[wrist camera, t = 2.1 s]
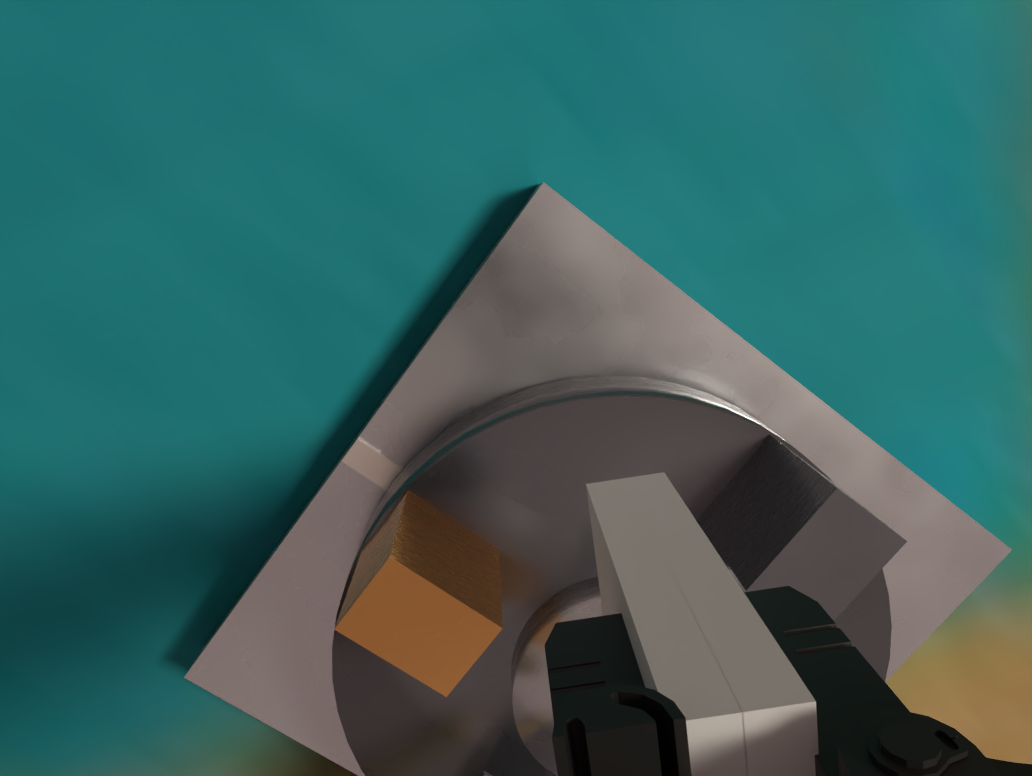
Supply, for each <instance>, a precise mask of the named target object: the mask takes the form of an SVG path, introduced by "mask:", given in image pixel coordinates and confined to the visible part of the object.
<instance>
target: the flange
mask: <svg viewBox="0 0 1032 776" xmlns="http://www.w3.org/2000/svg"><path fill="white" fill-rule="evenodd" d="M604 375H609V376H633V377H645V378H651V379H656V380H662V381H668V382H674V383H678V384H681V385H684V386H687V387H690V388H694V389H697V390H700V391H703V392H706V393H709V394H711V395H713V396H715V397H718V398H720V399H722V400H724V401H726V402H728V403H730V404H732V405H735V406H737V407H739V408H740V409H742V410H743V411H745V412H746V413H748V414H749V415H751V416H752V417H754V418H755V419H757V420H758V421H760V422H762V423H763V424H765V425H766V426H767V427H769V428H770V429H771V430H772V431H774V432H775V433H776V434H778V435H779V436H780V437H781V438H783V439H784V440H785V441H787V442H788V443H789V444H790V445H792V446H793V447H794V448H796V449H797V450H798V451H799V452H801V453H802V454H803V455H804V456H805V457H806V458H808V459H809V460H810V461H811V462H812V463H813V464H814V465H816V466H817V467H818V468H819V469H820V470H821V471H822V472H823V473H825V474H826V475H827V476H828V477H829V478H830V479H831V480H832V482H833V483H834V484H836V485H837V486H838V487H839V488H841V489H842V490H843V491H845V492H846V493H847V494H848V495H850V496H851V497H852V498H853V499H855V500H856V501H857V502H858V503H860V504H861V505H862V506H863V507H865V508H866V509H867V510H868V511H870V512H871V513H872V514H873V515H875V516H876V517H877V518H879V519H880V520H881V521H882V522H884V523H885V524H886V525H887V526H889V527H890V528H891V529H892V530H894V531H895V532H896V533H897V534H899V535H900V536H901V537H902V538H904V539H905V540H906V541H907V542H906V543H905V544H904V546H903V547H902V548H901V549H900V550H899V551H898V552H897V553H896V554H895V555H894V556H893V557H892V559H891V560H890V561H889V562H888V563H887V564H886V565H885V566H884V567H883V568H882V569H883V573H884V577H885V581H886V585H887V589H888V593H889V602H890V613H891V624H892V630H891V647H890V660H889V665H888V670H887V675H886V680H885V682H886V681H887V680H888V679H889V677H890V676H891V675H892V674H893V673H894V672H895V671H896V670H897V669H898V668H899V667H900V666H901V665H902V664H903V663H904V662H905V661H906V660H907V659H908V658H909V657H910V656H911V655H912V654H913V653H914V651H915V650H916V649H917V648H918V647H919V646H920V645H921V644H922V643H923V642H924V641H925V640H926V639H927V638H928V637H929V636H930V635H931V634H932V633H933V632H934V631H935V630H936V629H937V628H938V627H939V625H940V624H941V623H942V622H943V621H944V620H945V619H946V618H947V617H948V616H949V615H950V614H951V613H952V612H953V611H954V610H955V609H956V608H957V607H958V606H959V605H960V604H961V603H962V602H963V600H964V599H965V598H966V597H967V596H968V595H969V594H970V593H971V592H972V591H973V590H974V589H975V588H976V587H977V586H978V585H979V584H980V583H981V582H982V581H983V580H984V579H985V578H986V577H987V576H988V574H989V573H990V572H991V571H992V570H993V569H994V568H995V567H996V566H997V565H998V564H999V563H1000V562H1001V561H1002V560H1003V559H1004V558H1005V557H1006V556H1007V555H1008V554H1009V553H1010V552H1011V551H1012V550H1011V549H1010V548H1009V547H1008V546H1006V545H1005V544H1004V543H1003V542H1001V541H1000V540H999V539H997V538H996V537H995V536H994V535H992V534H991V533H990V532H989V531H987V530H986V529H985V528H983V527H982V526H981V525H980V524H978V523H977V522H976V521H974V520H973V519H972V518H971V517H969V516H968V515H967V514H966V513H964V512H963V511H962V510H960V509H959V508H958V507H957V506H955V505H954V504H953V503H952V502H950V501H949V500H948V499H946V498H945V497H944V496H943V495H941V494H940V493H939V492H938V491H936V490H935V489H934V488H932V487H931V486H930V485H929V484H927V483H926V482H925V481H924V480H922V479H921V478H920V477H918V476H917V475H916V474H915V473H913V472H912V471H911V470H909V469H908V468H907V467H906V466H904V465H903V464H902V463H901V462H899V461H898V460H897V459H895V458H894V457H893V456H892V455H890V454H889V453H888V452H887V451H885V450H884V449H883V448H881V447H880V446H879V445H878V444H876V443H875V442H874V441H873V440H871V439H870V438H869V437H867V436H866V435H865V434H864V433H862V432H861V431H860V430H859V429H857V428H856V427H855V426H853V425H852V424H851V423H850V422H848V421H847V420H846V419H844V418H843V417H842V416H841V415H839V414H838V413H837V412H836V411H834V410H833V409H832V408H830V407H829V406H828V405H827V404H825V403H824V402H823V401H822V400H820V399H819V398H818V397H816V396H815V395H814V394H813V393H811V392H810V391H809V390H808V389H806V388H805V387H804V386H802V385H801V384H800V383H799V382H797V381H796V380H795V379H794V378H792V377H791V376H790V375H788V374H787V373H786V372H785V371H783V370H782V369H781V368H780V367H778V366H777V365H776V364H774V363H773V362H772V361H771V360H769V359H768V358H767V357H765V356H764V355H763V354H762V353H760V352H759V351H758V350H757V349H755V348H754V347H753V346H751V345H750V344H749V343H748V342H746V341H745V340H744V339H743V338H741V337H740V336H739V335H737V334H736V333H735V332H734V331H732V330H731V329H730V328H729V327H727V326H726V325H725V324H723V323H722V322H721V321H720V320H718V319H717V318H716V317H715V316H713V315H712V314H711V313H709V312H708V311H707V310H706V309H704V308H703V307H702V306H700V305H699V304H698V303H697V302H695V301H694V300H693V299H692V298H690V297H689V296H688V295H686V294H685V293H684V292H683V291H681V290H680V289H679V288H678V287H676V286H675V285H674V284H672V283H671V282H670V281H669V280H667V279H666V278H665V277H664V276H662V275H661V274H660V273H658V272H657V271H656V270H655V269H653V268H652V267H651V266H650V265H648V264H647V263H646V262H644V261H643V260H642V259H641V258H639V257H638V256H637V255H635V254H634V253H633V252H632V251H630V250H629V249H628V248H627V247H625V246H624V245H623V244H621V243H620V242H619V241H618V240H616V239H615V238H614V237H613V236H611V235H610V234H609V233H607V232H606V231H605V230H604V229H602V228H601V227H600V226H599V225H597V224H596V223H595V222H593V221H592V220H591V219H590V218H588V217H587V216H586V215H585V214H583V213H582V212H581V211H579V210H578V209H577V208H576V207H574V206H573V205H572V204H570V203H569V202H568V201H567V200H565V199H564V198H563V197H562V196H560V195H559V194H558V193H556V192H555V191H554V190H553V189H551V188H550V187H549V186H548V185H546V184H545V183H544V182H543V183H540V184H539V185H538V186H537V187H536V189H535V190H534V192H533V193H532V194H531V196H530V197H529V198H528V200H527V201H526V203H525V204H524V205H523V207H522V208H521V209H520V211H519V212H518V214H517V215H516V216H515V218H514V219H513V220H512V222H511V223H510V225H509V226H508V227H507V229H506V230H505V232H504V233H503V234H502V236H501V237H500V238H499V240H498V241H497V243H496V244H495V245H494V247H493V248H492V249H491V251H490V252H489V254H488V255H487V256H486V258H485V259H484V260H483V262H482V263H481V265H480V266H479V267H478V269H477V270H476V272H475V273H474V274H473V276H472V277H471V278H470V280H469V281H468V283H467V284H466V285H465V287H464V288H463V289H462V291H461V292H460V294H459V295H458V296H457V298H456V299H455V300H454V302H453V303H452V305H451V306H450V307H449V309H448V310H447V312H446V313H445V314H444V316H443V317H442V318H441V320H440V321H439V323H438V324H437V325H436V327H435V328H434V329H433V331H432V332H431V334H430V335H429V336H428V338H427V339H426V340H425V342H424V343H423V345H422V346H421V347H420V349H419V350H418V352H417V353H416V354H415V356H414V357H413V358H412V360H411V361H410V363H409V364H408V365H407V367H406V368H405V369H404V371H403V372H402V374H401V375H400V376H399V378H398V379H397V381H396V382H395V383H394V385H393V386H392V387H391V389H390V390H389V392H388V393H387V394H386V396H385V397H384V398H383V400H382V401H381V403H380V404H379V405H378V407H377V408H376V409H375V411H374V412H373V414H372V415H371V416H370V418H369V419H368V421H367V422H366V423H365V425H364V426H363V427H362V429H361V430H360V432H359V433H358V434H357V436H356V437H355V438H354V440H353V441H352V443H351V444H350V445H349V447H348V448H347V449H346V451H345V452H344V454H343V455H342V456H341V458H340V459H339V461H338V462H337V463H336V465H335V466H334V467H333V469H332V470H331V472H330V473H329V474H328V476H327V477H326V478H325V480H324V481H323V483H322V484H321V485H320V487H319V488H318V489H317V491H316V492H315V494H314V495H313V496H312V498H311V499H310V501H309V502H308V503H307V505H306V506H305V507H304V509H303V510H302V512H301V513H300V514H299V516H298V517H297V518H296V520H295V521H294V523H293V524H292V525H291V527H290V528H289V529H288V531H287V532H286V534H285V535H284V536H283V538H282V539H281V541H280V542H279V543H278V545H277V546H276V547H275V549H274V550H273V552H272V553H271V554H270V556H269V557H268V558H267V560H266V561H265V563H264V564H263V565H262V567H261V568H260V569H259V571H258V572H257V574H256V575H255V576H254V578H253V579H252V581H251V582H250V583H249V585H248V586H247V587H246V589H245V590H244V592H243V593H242V594H241V596H240V597H239V598H238V600H237V601H236V603H235V604H234V605H233V607H232V608H231V609H230V611H229V612H228V614H227V615H226V616H225V618H224V619H223V621H222V622H221V623H220V625H219V626H218V627H217V629H216V630H215V632H214V633H213V634H212V636H211V637H210V638H209V640H208V641H207V643H206V644H205V645H204V647H203V648H202V650H201V651H200V653H199V654H198V656H197V658H196V659H195V661H194V662H193V664H192V665H191V667H190V669H189V670H188V672H187V673H186V675H185V677H184V678H186V679H187V680H189V681H191V682H193V683H194V684H196V685H198V686H200V687H202V688H203V689H205V690H207V691H209V692H210V693H212V694H214V695H216V696H218V697H219V698H221V699H223V700H225V701H226V702H228V703H230V704H232V705H233V706H235V707H237V708H239V709H241V710H242V711H244V712H246V713H248V714H249V715H251V716H253V717H255V718H257V719H258V720H260V721H262V722H264V723H265V724H267V725H269V726H271V727H273V728H274V729H276V730H278V731H280V732H281V733H283V734H285V735H287V736H289V737H290V738H292V739H294V740H296V741H297V742H299V743H301V744H303V745H305V746H306V747H308V748H310V749H312V750H313V751H315V752H317V753H319V754H320V755H322V756H324V757H326V758H328V759H329V760H331V761H333V762H335V763H336V764H338V765H340V766H342V767H344V768H345V769H347V770H349V771H351V772H352V773H354V774H356V775H358V776H365V775H364V773H363V772H362V771H361V769H360V767H359V765H358V763H357V760H356V758H355V756H354V754H353V752H352V750H351V748H350V746H349V744H348V742H347V739H346V736H345V733H344V730H343V727H342V724H341V721H340V718H339V715H338V711H337V705H336V699H335V693H334V687H333V681H332V644H333V637H334V629H335V622H336V615H337V611H338V608H339V604H340V601H341V598H342V594H343V591H344V588H345V584H346V581H347V578H348V575H349V573H350V570H351V567H352V564H353V562H354V559H355V556H356V553H357V551H358V548H359V545H360V542H361V540H362V537H363V535H364V533H365V531H366V528H367V526H368V524H369V522H370V520H371V518H372V515H373V513H374V511H375V509H376V508H377V506H378V504H379V503H380V501H381V500H382V498H383V497H384V495H385V494H386V492H387V491H388V489H389V487H390V486H391V484H392V483H393V481H394V480H395V479H396V478H397V477H398V476H399V474H400V473H401V472H402V471H403V470H404V469H405V467H406V466H407V465H408V464H409V463H410V462H411V460H412V459H413V458H414V457H415V456H416V455H417V454H418V453H419V452H421V451H422V450H423V449H424V448H425V447H426V446H427V445H428V444H430V443H431V442H432V441H433V440H434V439H435V438H436V437H437V436H439V435H440V434H441V433H442V432H444V431H445V430H447V429H448V428H450V427H451V426H453V425H454V424H456V423H457V422H458V421H460V420H461V419H463V418H464V417H466V416H467V415H469V414H471V413H473V412H475V411H476V410H478V409H480V408H482V407H484V406H486V405H488V404H490V403H492V402H494V401H496V400H498V399H500V398H503V397H506V396H508V395H511V394H514V393H517V392H520V391H522V390H525V389H528V388H531V387H534V386H538V385H542V384H547V383H551V382H556V381H561V380H565V379H570V378H581V377H593V376H604Z"/></svg>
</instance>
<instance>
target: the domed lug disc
mask: <svg viewBox="0 0 1032 776" xmlns="http://www.w3.org/2000/svg"><path fill="white" fill-rule="evenodd" d="M663 472H664V473H665V474H666V476H667V477H668V479H669V480H670V482H671V483H672V485H673V486H674V488H675V489H676V491H677V492H678V494H679V495H680V497H681V498H682V500H683V501H684V503H685V504H686V506H687V507H688V509H689V510H690V512H691V513H692V515H693V516H694V518H695V519H696V521H697V523H698V524H699V526H700V527H701V529H702V530H703V532H704V533H705V535H706V536H707V538H708V539H709V541H710V542H711V544H712V545H713V547H714V548H715V550H716V551H717V553H718V554H719V556H720V557H721V559H722V560H723V562H724V563H725V565H726V566H727V568H728V569H729V571H730V572H731V574H732V575H733V577H734V578H735V580H736V581H737V583H738V584H739V586H740V587H741V589H742V590H743V592H750V591H757V590H763V589H770V588H777V587H783V586H790V587H792V588H794V589H796V590H797V591H799V592H801V593H803V594H805V595H806V596H808V597H810V598H812V599H813V600H815V601H817V602H818V603H819V604H820V605H821V606H822V608H823V609H824V610H825V611H826V612H827V614H828V615H829V616H830V617H831V618H832V619H833V621H834V622H835V623H836V626H837V628H840V629H841V630H842V631H843V633H844V634H845V635H846V636H847V637H848V639H849V640H850V641H851V644H852V647H854V646H855V647H856V648H857V649H858V651H859V652H860V653H861V654H862V655H863V657H864V658H865V659H866V660H867V661H868V663H869V664H870V665H871V666H872V667H873V669H874V670H875V671H876V672H877V673H878V675H879V676H880V677H881V678H882V679H883V681H884V682H885V680H886V675H887V670H888V665H889V660H890V647H891V630H892V624H891V613H890V602H889V593H888V589H887V585H886V581H885V577H884V573H883V569H882V568H883V567H884V566H885V565H886V564H887V563H888V562H889V561H890V560H891V559H892V557H893V556H894V555H895V554H896V553H897V552H898V551H899V550H900V549H901V548H902V547H903V546H904V544H905V543H906V542H907V541H906V540H905V539H904V538H902V537H901V536H900V535H899V534H897V533H896V532H895V531H894V530H892V529H891V528H890V527H889V526H887V525H886V524H885V523H884V522H882V521H881V520H880V519H879V518H877V517H876V516H875V515H873V514H872V513H871V512H870V511H868V510H867V509H866V508H865V507H863V506H862V505H861V504H860V503H858V502H857V501H856V500H855V499H853V498H852V497H851V496H850V495H848V494H847V493H846V492H845V491H843V490H842V489H841V488H839V487H838V486H837V485H836V484H834V483H833V482H832V480H831V479H830V478H829V477H828V476H827V475H826V474H825V473H823V472H822V471H821V470H820V469H819V468H818V467H817V466H816V465H814V464H813V463H812V462H811V461H810V460H809V459H808V458H806V457H805V456H804V455H803V454H802V453H801V452H799V451H798V450H797V449H796V448H794V447H793V446H792V445H790V444H789V443H788V442H787V441H785V440H784V439H783V438H781V437H780V436H779V435H778V434H776V433H775V432H774V431H772V430H771V429H770V428H769V427H767V426H766V425H765V424H763V423H762V422H760V421H758V420H757V419H755V418H754V417H752V416H751V415H749V414H748V413H746V412H745V411H743V410H742V409H740V408H739V407H737V406H735V405H732V404H730V403H728V402H726V401H724V400H722V399H720V398H718V397H715V396H713V395H711V394H709V393H706V392H703V391H700V390H697V389H694V388H690V387H687V386H684V385H681V384H678V383H674V382H668V381H662V380H656V379H651V378H645V377H633V376H609V375H604V376H593V377H581V378H570V379H565V380H561V381H556V382H551V383H547V384H542V385H538V386H534V387H531V388H528V389H525V390H522V391H520V392H517V393H514V394H511V395H508V396H506V397H503V398H500V399H498V400H496V401H494V402H492V403H490V404H488V405H486V406H484V407H482V408H480V409H478V410H476V411H475V412H473V413H471V414H469V415H467V416H466V417H464V418H463V419H461V420H460V421H458V422H457V423H456V424H454V425H453V426H451V427H450V428H448V429H447V430H445V431H444V432H442V433H441V434H440V435H439V436H437V437H436V438H435V439H434V440H433V441H432V442H431V443H430V444H428V445H427V446H426V447H425V448H424V449H423V450H422V451H421V452H419V453H418V454H417V455H416V456H415V457H414V458H413V459H412V460H411V462H410V463H409V464H408V465H407V466H406V467H405V469H404V470H403V471H402V472H401V473H400V474H399V476H398V477H397V478H396V479H395V480H394V481H393V483H392V484H391V486H390V487H389V489H388V491H387V492H386V494H385V495H384V497H383V498H382V500H381V501H380V503H379V504H378V506H377V508H376V509H375V511H374V513H373V515H372V518H371V520H370V522H369V524H368V526H367V528H366V531H365V533H364V535H363V537H362V540H361V542H360V545H359V548H358V551H357V553H356V556H355V559H354V562H353V564H352V567H351V570H350V573H349V575H348V578H347V581H346V584H345V588H344V591H343V594H342V598H341V601H340V604H339V608H338V611H337V615H336V622H335V629H334V637H333V644H332V681H333V687H334V693H335V699H336V705H337V711H338V715H339V718H340V721H341V724H342V727H343V730H344V733H345V736H346V739H347V742H348V744H349V746H350V748H351V750H352V752H353V754H354V756H355V758H356V760H357V763H358V765H359V767H360V769H361V771H362V772H363V773H364V775H365V776H558V774H557V767H556V761H555V755H554V748H553V742H552V734H553V727H554V719H553V711H552V703H551V695H550V687H549V679H548V670H547V662H546V654H545V646H544V645H545V643H546V641H547V639H548V637H549V635H550V633H551V631H552V629H553V627H554V625H555V623H558V622H565V621H572V620H578V619H585V618H592V617H599V616H604V615H603V612H602V604H601V596H600V589H599V581H598V573H597V566H596V558H595V550H594V543H593V535H592V527H591V519H590V512H589V504H588V496H587V489H586V484H589V483H596V482H602V481H609V480H616V479H622V478H629V477H636V476H643V475H649V474H656V473H663Z"/></svg>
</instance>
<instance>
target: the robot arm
mask: <svg viewBox="0 0 1032 776" xmlns="http://www.w3.org/2000/svg"><path fill="white" fill-rule="evenodd" d="M586 489H587V496H588V504H589V512H590V519H591V527H592V535H593V543H594V550H595V558H596V566H597V573H598V581H599V589H600V596H601V604H602V612H603V615H604V616H599V617H592V618H585V619H578V620H572V621H565V622H558V623H555V625H554V627H553V629H552V631H551V633H550V635H549V637H548V639H547V641H546V643H545V645H544V646H545V654H546V662H547V670H548V679H549V687H550V695H551V703H552V711H553V719H554V727H553V734H552V742H553V748H554V755H555V761H556V767H557V774H558V776H1032V764H1023V763H1013V762H1007V761H1001V760H995V759H989V758H986V757H985V756H984V755H983V754H982V753H981V752H980V750H979V749H978V748H977V747H976V746H975V745H974V744H973V743H971V742H970V741H969V740H968V739H967V738H965V737H964V736H963V735H962V734H960V733H959V732H958V731H957V730H956V729H954V728H952V727H950V726H948V725H946V724H944V723H941V722H939V721H937V720H935V719H933V718H931V717H929V716H924V715H920V714H915V713H911V712H909V710H908V709H907V708H906V707H905V706H904V704H903V703H902V702H901V701H900V700H899V698H898V697H897V696H896V695H895V694H894V692H893V691H892V690H891V689H890V688H889V687H888V685H887V684H886V683H885V682H884V681H883V679H882V678H881V677H880V676H879V675H878V673H877V672H876V671H875V670H874V669H873V667H872V666H871V665H870V664H869V663H868V661H867V660H866V659H865V658H864V657H863V655H862V654H861V653H860V652H859V651H858V649H857V648H856V647H855V646H854V647H852V644H851V641H850V640H849V639H848V637H847V636H846V635H845V634H844V633H843V631H842V630H841V629H840V628H837V626H836V623H835V622H834V621H833V619H832V618H831V617H830V616H829V615H828V614H827V612H826V611H825V610H824V609H823V608H822V606H821V605H820V604H819V603H818V602H817V601H815V600H813V599H812V598H810V597H808V596H806V595H805V594H803V593H801V592H799V591H797V590H796V589H794V588H792V587H790V586H783V587H777V588H770V589H763V590H757V591H750V592H743V590H742V589H741V587H740V586H739V584H738V583H737V581H736V580H735V578H734V577H733V575H732V574H731V572H730V571H729V569H728V568H727V566H726V565H725V563H724V562H723V560H722V559H721V557H720V556H719V554H718V553H717V551H716V550H715V548H714V547H713V545H712V544H711V542H710V541H709V539H708V538H707V536H706V535H705V533H704V532H703V530H702V529H701V527H700V526H699V524H698V523H697V521H696V519H695V518H694V516H693V515H692V513H691V512H690V510H689V509H688V507H687V506H686V504H685V503H684V501H683V500H682V498H681V497H680V495H679V494H678V492H677V491H676V489H675V488H674V486H673V485H672V483H671V482H670V480H669V479H668V477H667V476H666V474H665V473H664V472H663V473H656V474H649V475H643V476H636V477H629V478H622V479H616V480H609V481H602V482H596V483H589V484H586Z"/></svg>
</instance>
